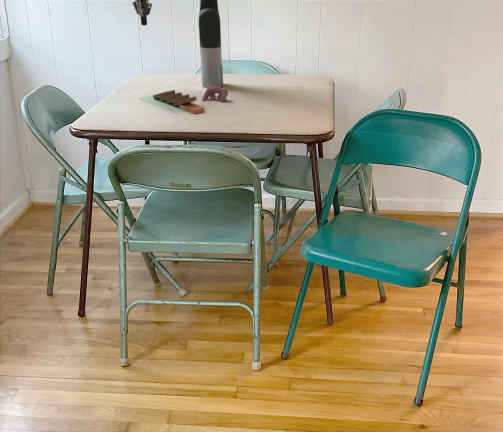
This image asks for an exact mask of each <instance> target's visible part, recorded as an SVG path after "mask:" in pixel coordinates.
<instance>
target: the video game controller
mask: <svg viewBox="0 0 503 432" xmlns="http://www.w3.org/2000/svg"><path fill="white" fill-rule="evenodd" d="M216 94H217V95H216ZM228 95H229V91H228V90H227V89H226V88H225V87H224V86H213V87H206V89H205V92H204V94H203V96H202V101H204V102H205V101H207V100H208V99H209V98H210V99H211V100H216V99H217V100H218V101H220V103H225V101H226V99H227V97H228Z"/></svg>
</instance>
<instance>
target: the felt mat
mask: <svg viewBox="0 0 503 432" xmlns="http://www.w3.org/2000/svg"><path fill="white" fill-rule="evenodd" d="M153 95H154V94H152V95H147V96H142V97H137V100H140V101H143V102H146V103H147V104H150V105H153V106H155V107H158V108H161V109H164V110H167V111H169V112H172V113H175V114H177V113H181V112H182V113H183V112H186V111H185V110H182V109H180V106H179V105H178V106H173V103H170V104H167V102H166V100H165V101H160V99H159V98H157V99H154V98H153ZM190 103H193V104H196V105H199V106H202V107H204V108H205V105H202V104H199V103H197V102H195V101H193V102H190Z"/></svg>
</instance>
